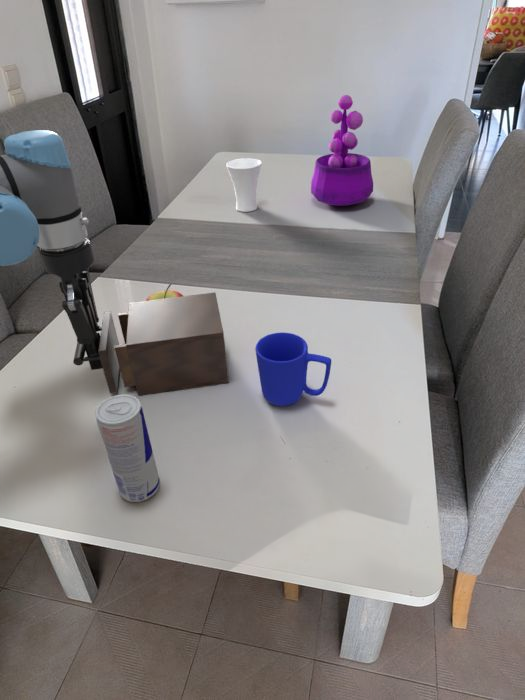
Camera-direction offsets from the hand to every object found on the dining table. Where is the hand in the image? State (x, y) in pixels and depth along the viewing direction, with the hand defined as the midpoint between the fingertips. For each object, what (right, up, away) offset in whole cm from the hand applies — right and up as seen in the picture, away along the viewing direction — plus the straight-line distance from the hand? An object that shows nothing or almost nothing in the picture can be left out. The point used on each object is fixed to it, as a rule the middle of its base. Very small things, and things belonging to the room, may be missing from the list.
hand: (99, 366), depth 91 cm
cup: (+24, +46, +67) cm, 85 cm away
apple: (+10, +7, +13) cm, 18 cm away
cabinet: (+14, 0, +3) cm, 15 cm away
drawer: (+7, 0, +2) cm, 7 cm away
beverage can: (+12, -16, -19) cm, 28 cm away
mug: (+34, -5, -5) cm, 35 cm away
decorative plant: (+53, +48, +68) cm, 99 cm away
